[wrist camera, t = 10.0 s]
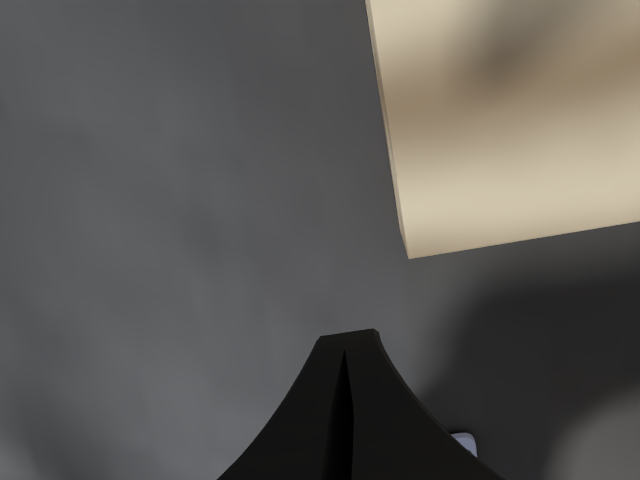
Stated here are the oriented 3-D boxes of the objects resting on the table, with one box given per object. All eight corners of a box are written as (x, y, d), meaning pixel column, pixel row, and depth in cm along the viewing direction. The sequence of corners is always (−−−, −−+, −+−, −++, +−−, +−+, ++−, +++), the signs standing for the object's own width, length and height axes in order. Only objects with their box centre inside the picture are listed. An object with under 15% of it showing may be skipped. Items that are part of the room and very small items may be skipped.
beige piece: (705, 176, 20) (763, 200, 17) (400, 229, 22) (408, 259, 19) (730, -121, 17) (808, -151, 14) (359, -37, 18) (362, -48, 15)
